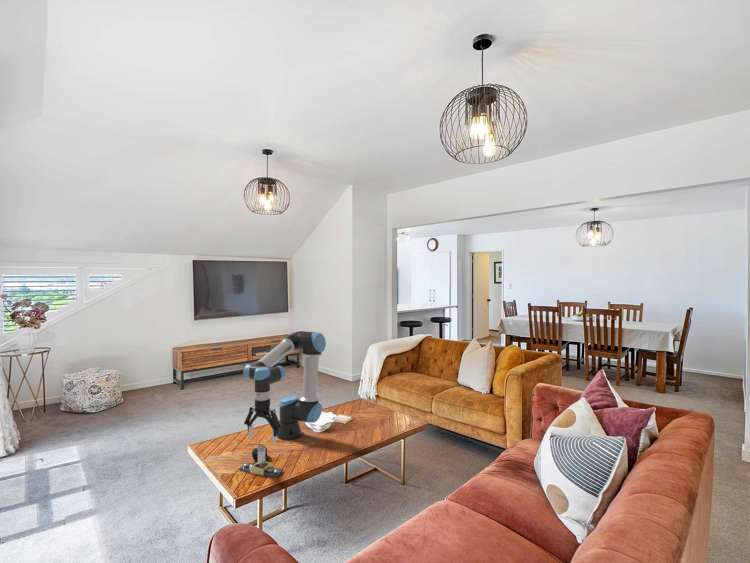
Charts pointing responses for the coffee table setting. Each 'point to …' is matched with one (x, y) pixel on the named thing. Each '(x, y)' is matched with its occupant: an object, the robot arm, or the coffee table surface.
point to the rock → (255, 454)
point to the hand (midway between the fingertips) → (262, 440)
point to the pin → (261, 456)
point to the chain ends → (262, 469)
